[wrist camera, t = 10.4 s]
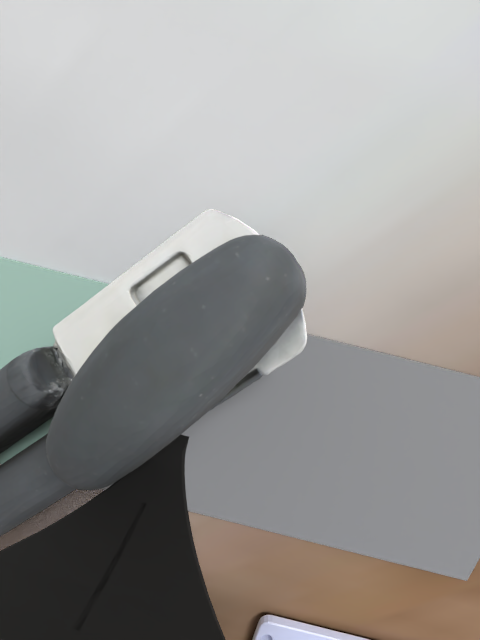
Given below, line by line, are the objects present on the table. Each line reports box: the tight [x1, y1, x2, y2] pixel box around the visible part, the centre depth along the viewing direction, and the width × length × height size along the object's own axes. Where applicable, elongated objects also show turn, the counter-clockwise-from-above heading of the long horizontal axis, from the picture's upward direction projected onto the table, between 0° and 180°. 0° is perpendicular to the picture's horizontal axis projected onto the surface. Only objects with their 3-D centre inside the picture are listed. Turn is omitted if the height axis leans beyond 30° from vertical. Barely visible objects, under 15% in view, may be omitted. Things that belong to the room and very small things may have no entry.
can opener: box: [0, 209, 307, 536], centre depth 10 cm, size 19×5×6 cm, turn 125°
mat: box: [0, 257, 480, 581], centre depth 14 cm, size 9×39×1 cm, turn 76°
